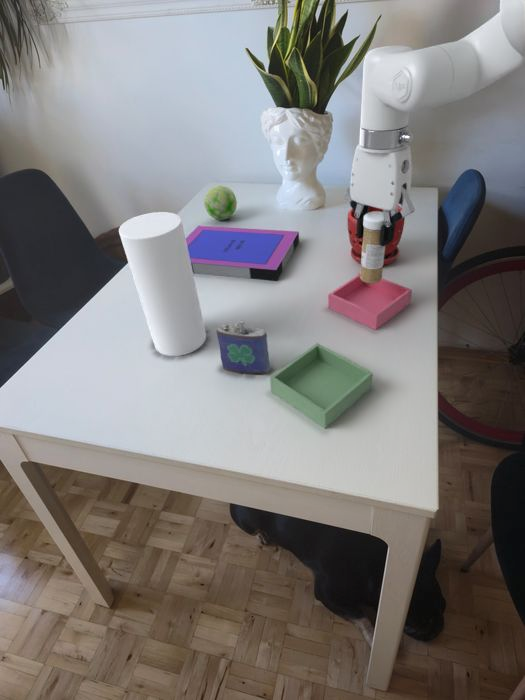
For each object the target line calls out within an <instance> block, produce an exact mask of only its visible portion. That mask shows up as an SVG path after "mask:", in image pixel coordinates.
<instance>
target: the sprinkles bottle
mask: <svg viewBox="0 0 525 700" xmlns="http://www.w3.org/2000/svg"><path fill="white" fill-rule="evenodd" d="M383 225H385V223H384V215H383V212H379V211H373V212H369V213H367V214H365V215H364V219H363V226H364V233H363V244H362V256H361V263H360V273H359V274H360V279H361V280H362V281H363V282H366V283H377V282H379V281H381V280H382V278H383V266H384V265H383V263H384V253H385V246H381V245H380V237H381V227H382V226H383Z"/></svg>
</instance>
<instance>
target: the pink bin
mask: <svg viewBox="0 0 525 700" xmlns="http://www.w3.org/2000/svg"><path fill="white" fill-rule="evenodd" d="M360 274H361V273H359V274H357V275H356V276H355V277H353V278H351V279H350V280H348V281H347V282H345V283H343V284H342V285H341V286H338V287H337V288H336V289H334V290H333V291H331V292H330V293H328V301H327V303H328V305H327V307H328V309H330V310H332V311H334V312H336V313H338V314H339V315H343V316H345V317H347V318H349V319H351V320H353V321H355V322H358V323H360V324H362V325H364V326H366V327H368V328H370V329H372V330H375V331H376V330H377V329H379V328H380V327H381V326H383V325H384V324H385V323H387V322H388V321H389V320H390V319H392V318H393V317H395V316H396V315H397V314H398V313H399V312H401V311H402V310H403V309H405V308H406V307H407V306H409V305H410V304H411V298H412V293H413V289H411V288H409V287H406V286H403V285H401V284H398V283H396V282H393V281H390V280H388V279H386V278H383V277H382V280H381V281H379V282H377V283H366V282H363V281H362V280H361V279H360Z"/></svg>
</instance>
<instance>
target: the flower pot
mask: <svg viewBox="0 0 525 700" xmlns="http://www.w3.org/2000/svg"><path fill="white" fill-rule="evenodd" d="M401 210H402V206H401V205H398V212H399V211H401ZM373 211H379V212H383V209H379V208H375V207H372V206H370V208H369V211H368V213H369V212H373ZM354 214H355V212H354V210H353V209H352V208H351V209H350V210H349V211H348V212H347V233H348V237H349V238H348V239H349V243H350V246H351V250H350V256H351V258H352V259H353V260H354V261H355V262H357V263H358V264H361V256H362V244H363V237H362V238H360V239H358V238H357V218H356V217H355V215H354ZM405 219H406V216H405V217H403V218H402V219H400V220H399V221H398V222H396V223H395V232H394V238H393V240H392V241H391V242H390V243H388V244H387V245H385V253H384V263H383V266H384V265H387V264H390V263H392V262H394V261H395V260H396V259H397V258H398V256H399V254H400V249H399V247H398V245H399V244H400V242H401V239H402V235H403V233H404V227H405Z"/></svg>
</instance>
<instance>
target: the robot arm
mask: <svg viewBox="0 0 525 700" xmlns="http://www.w3.org/2000/svg"><path fill="white" fill-rule="evenodd" d="M362 65H363V66H362V68H363V69H362V86H361V87H362V88H361V103H360V104H361V106H360V126H359V142H358V144H357V145H356V147H355V150H354V156H353V160H352V166H351V172H350V173H351V174H350V185H349V187H348V188H347V189H346V190H345V192H344V193H343V197H344V199H345V200H346V201H347V202H348V204H349V206H350V208H351V209H353V210H354V212H355V214H354V215H355V217H356V218H357V238H358V239H360V238H362V237H363V233H364V226H363V219H364V215H365V214H367V213H368V211H369V208H370V206H372V207H375V208H379V209H383V215H384V223H385V225H383V226H382V227H381V237H380V245H381V246H385V245H387V244H388V243H390V242H391V241H392V240H393V238H394V232H395V223H396V222H398V221H399V220H400V219H402V218H403V217H405V218H406V217H407V216H410V215H411V214H413V213H414V212H415V207H414V205H413V203H412V200H411V191H412V190H411V189H412V173H413V172H412V171H413V170H412V165H413V164H412V152H411V146H410V145H406V144H410V143H412V142H413V140H414V133H411V132H409V120H410V119H409V118H410V114H414V113H420V112H423V111H426V110H431V109H434V108H436V107H439V106H444V105H447V104H450V103H451V104H452V103H454V102H457V101H461V100H463V99H466V98H467V97H470V96H472V95H473V94H476V93H477V92H479V91H481V90H483V89H484V88H487V87H488V86H490V85H492V84H494V83H495V82H498V81H499V80H501V79H503V78H505V77H507V76H508V75H510V74H511V73H513V72H514V71H516V70H518V69H519V68H520V67H522V66H523V65H525V0H499V11H498V12H497V13H496V14H495V15H494V16H492V17H491V18H490V19H488V20H487V21H486V22H484V23H483V24H482V25H480V26H479V27H477V28H476V29H475V30H473V31H471V32H469V34H467V35H465V36H464V37H462V38H460V39H459V40H456V41H451V42H446V43H441V44H436V45H432V46H428V47H423V48H419V49H413V47H411V46H407V45H387V46H380V47H376V48H373V49H371V50H369V51H368V52H367V53H366V54H365V56H364V59H363V64H362ZM399 205H400V207H402V210H401V211H399V212H398V206H399Z"/></svg>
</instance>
